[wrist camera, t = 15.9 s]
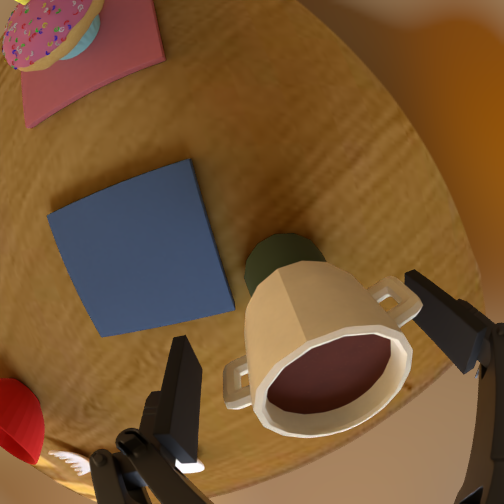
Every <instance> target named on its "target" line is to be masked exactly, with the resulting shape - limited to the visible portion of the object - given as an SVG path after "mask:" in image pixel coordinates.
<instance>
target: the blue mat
mask: <svg viewBox="0 0 504 504" xmlns="http://www.w3.org/2000/svg"><path fill="white" fill-rule="evenodd" d="M47 218H48V222H49V224H50V227H51V230H52V233H53V236H54V239H55V241H56V244H57V246H58V249H59V252H60V254H61V257H62V259H63V261H64V264H65V266H66V268H67V271H68V273H69V275H70V278H71V280H72V282H73V284H74V286H75V288H76V290H77V293H78V295H79V297H80V299H81V301H82V303H83V305H84V307H85V308H86V310H87V312H88V314H89V316H90V318H91V320H92V322H93V323H94V325H95V327H96V329H97V331H98V332H99V334H100V336H101V337H107V336H113V335H119V334H124V333H130V332H135V331H141V330H146V329H151V328H156V327H161V326H166V325H171V324H176V323H181V322H185V321H190V320H194V319H199V318H203V317H208V316H212V315H216V314H221V313H225V312H229V311H233V310H235V303H234V300H233V296H232V293H231V290H230V287H229V284H228V281H227V278H226V275H225V271H224V268H223V265H222V262H221V259H220V255H219V252H218V249H217V246H216V242H215V239H214V236H213V233H212V229H211V226H210V223H209V219H208V216H207V212H206V209H205V206H204V202H203V199H202V195H201V192H200V188H199V185H198V181H197V178H196V174H195V171H194V167H193V163H192V160H191V159H186V160H182V161H179V162H176V163H173V164H170V165H167V166H164V167H161V168H158V169H155V170H152V171H150V172H147V173H144V174H141V175H139V176H136V177H133V178H130V179H128V180H125V181H123V182H120V183H118V184H115V185H113V186H110V187H108V188H105V189H103V190H100V191H98V192H96V193H93V194H91V195H89V196H87V197H84V198H82V199H80V200H78V201H75V202H73V203H71V204H69V205H67V206H65V207H63V208H61V209H59V210H57V211H54V212H52V213H50V214H48V215H47Z"/></svg>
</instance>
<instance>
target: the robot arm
mask: <svg viewBox="0 0 504 504" xmlns="http://www.w3.org/2000/svg"><path fill="white" fill-rule="evenodd" d="M405 285H406V286H407V287H408V288H409V289H410V290H411V291H413V292H414V293H415V294H416V295H417V296H418V297H419V298H420V300H421V302H422V304H423V306H422V308H421V310H420V312H419V313H418V314H417V315H416V316H415V317H414V318H413V320H414V321H415V323H416V324H417V325H418V326H419V327H420V328H421V329H422V330H423V331H424V332H425V333H426V334H427V335H428V336H429V337H430V338H431V339H432V340H433V341H434V342H435V343H436V344H437V346H438V347H439V348H440V349H441V350H442V351H443V352H444V353H445V354H446V355H447V356H448V358H449V359H450V360H451V361H452V362H453V363H454V364H455V365H456V366H457V368H458V369H459V370H460V371H461V372H462V373H463V374H465V373H467V372H468V371H470V370H471V369H473V368H474V366H475V363H476V361H477V360H478V361H479V362H480V365H479V368H478V370H477V373H476V375H475V378H477V376H478V374H479V387H478V404H477V415H476V424H475V431H474V438H473V444H472V450H471V455H470V460H469V464H468V469H467V473H466V477H465V481H464V483H463V486H462V487H461V489H460V491H459V492H458V495H457V497H456V499H455V502H454V504H504V323H497V324H494V323H493V322H492V321H491V320H490V319H488V318H487V317H486V316H485V315H484V314H482V313H481V312H480V311H478V310H477V309H476V308H475V307H473V306H472V305H471V304H470V303H468V302H467V301H464V300H461V299H458V300H455V299H454V298H453V297H451V296H450V295H449V294H447V293H446V292H445V291H443V290H442V289H441V288H439V287H438V286H437V285H435V284H434V283H433V282H431V281H430V280H429V279H427V278H426V277H424V276H423V275H422V274H420V273H419V272H418V271H416V270H415V269H414V270H411V271H409V272H406V273H405ZM201 382H202V367H201V365H200V363H199V361H198V359H197V357H196V355H195V353H194V351H193V349H192V347H191V345H190V343H189V341H188V339H187V337H186V335H184V336H179V337H174V338H173V341H172V345H171V349H170V353H169V358H168V362H167V366H166V370H165V375H164V379H163V384H162V388H161V391H154V392H151V393H150V395H149V396H148V398H147V399H146V403H145V407H144V408H145V409H144V411H143V416H142V419H141V423H140V427H139V430H138V429H135V428H128V429H125V430H123V431H122V432H121V433H120V434H119V435H118V436H117V438H116V447H117V448H118V449H119V450H120V451H121V452H118V453H114V454H111V453H110V452H109V451H108V450H105V449H99V450H97V451H95V452H94V453H93V454H92V455H91V457H90V459H89V465H90V471H91V476H92V481H93V486H94V490H95V495H96V499H97V503H98V504H152V503H151V500H150V498H149V495H148V493H147V491H146V488H145V486H148V487H149V489H150V490H151V491H152V492H153V494H154V495H155V496H156V498H157V499H158V500H159V501H160V503H161V504H214V503H213V502H212V501H211V500H209V499H208V498H207V497H206V496H205V495H204V494H203V493H202V492H201V491H200V490H199V489H198V488H197V487H196V486H195V485H194V484H193V483H192V482H191V481H190V480H189V479H188V478H187V477H186V476H185V475H184V474H183V473H182V472H181V471H180V470H179V469H178V468H177V467H176V466H175V465H176V459H177V460H178V461H179V462H180V463H181V464H188V463H197V450H198V429H199V412H200V396H201Z"/></svg>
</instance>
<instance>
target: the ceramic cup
mask: <svg viewBox="0 0 504 504" xmlns="http://www.w3.org/2000/svg"><path fill="white" fill-rule="evenodd" d="M44 430H45V427H44V419H43V415H42V411H41V408H40V403H39V400H38V399H37V397H36V396H35V395H34V394H33V392H32V391H31V390H30V389H29V388H27V387H26V386H25V385H24V384H23V383H21V382H20V381H18V380H16V379H14V378H9V379H8V378H0V446H1V447H2V448H4V449H5V450H6V451H8V452H9V453H10V454H12V455H13V456H15V457H17V458H19V459H20V460H23V461H24V462H26V463H29V464H33V465H35V464H36V463H37V462H38V459H39V456H40V453H41V449H42V445H43V440H44Z"/></svg>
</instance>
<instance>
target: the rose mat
mask: <svg viewBox="0 0 504 504" xmlns="http://www.w3.org/2000/svg"><path fill="white" fill-rule="evenodd" d="M98 15H99V18H100V28H99V31H98V33H97V35H96V37H95V39H94V40H93V41H92V43H91V44H90V45H89V46H88V47H87V48H86V49H85V50H84V51H83V52H81V53H80V54H79V55H77V56H75V57H73V58H70V59H66V60H58V61H56V62H55V63H54V64H53V65H51V66H50V67H49V68H47V69H44V70H38V71H28V72H24V71H21V82H22V97H23V108H24V117H25V125H26V128H33V127H35V126H36V125H37V124H39V123H40V122H42V121H43V120H45V119H46V118H48V117H49V116H51V115H53V114H54V113H56V112H57V111H59V110H61V109H62V108H64V107H66V106H67V105H69V104H71V103H72V102H74V101H76V100H78V99H80V98H81V97H83V96H85V95H87V94H89V93H91V92H93V91H95V90H97V89H99V88H101V87H103V86H105V85H107V84H109V83H111V82H113V81H116V80H118V79H120V78H122V77H125V76H127V75H129V74H132V73H134V72H136V71H139V70H142V69H144V68H147V67H149V66H152V65H155V64H158V63H160V62H163V61H166V58H165V53H164V49H163V45H162V40H161V36H160V31H159V26H158V22H157V17H156V12H155V7H154V2H153V0H105V1H104V4H103V8H102V10H101V12H100V13H99V14H98Z"/></svg>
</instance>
